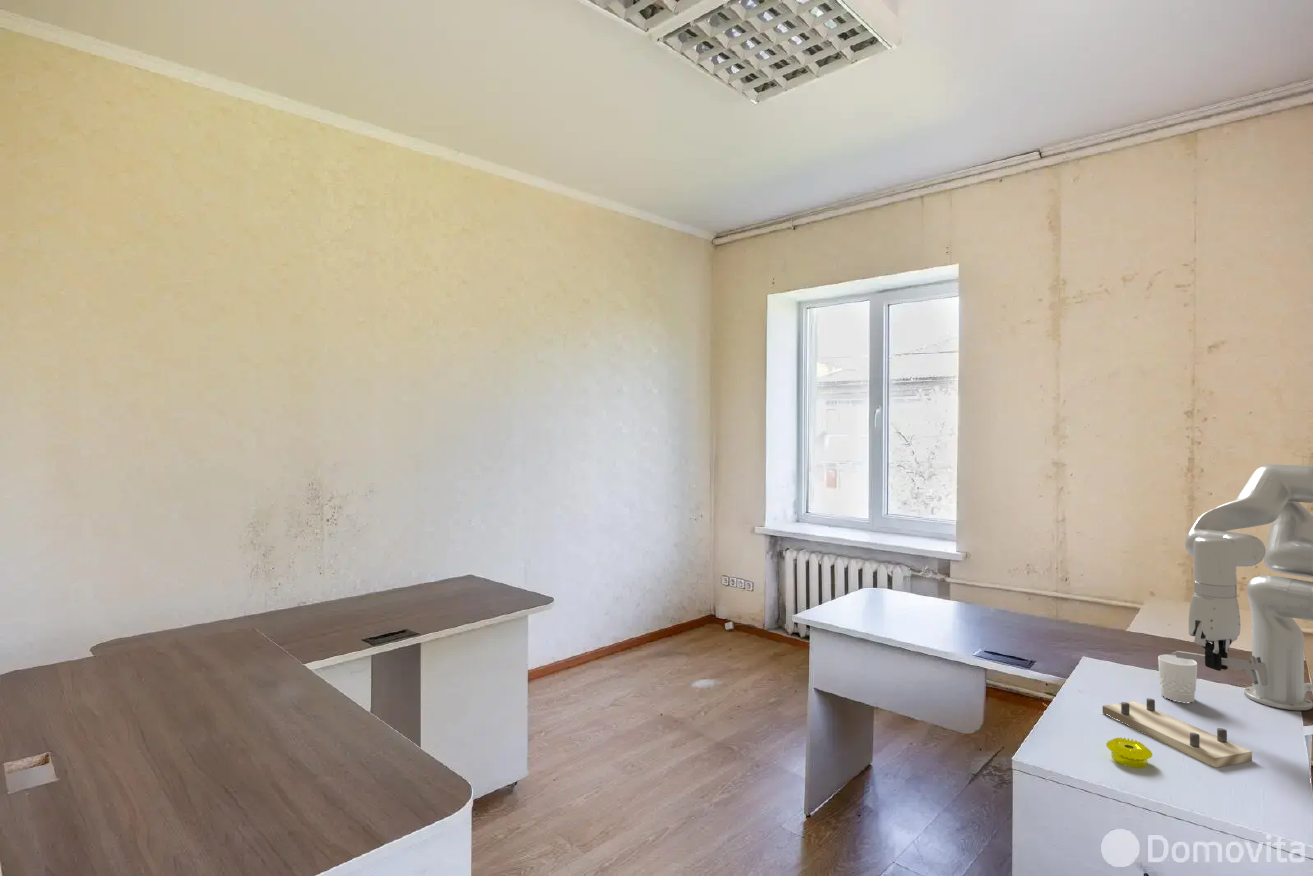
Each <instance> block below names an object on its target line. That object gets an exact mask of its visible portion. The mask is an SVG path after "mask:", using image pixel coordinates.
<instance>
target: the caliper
mask: <svg viewBox="0 0 1313 876" xmlns="http://www.w3.org/2000/svg"><path fill="white" fill-rule="evenodd" d="M1170 655H1176V657H1178V658H1184V659H1190V660H1194V661H1196V662H1198V661H1199V662H1202V663H1205V654H1201V653H1195V652H1187V651H1183V650H1182V651H1181V650H1176V651H1174V652H1173V651H1172V652H1171V653H1170ZM1221 665H1226V666H1228V667H1229V669H1230V670H1231V671H1237V672H1241V671H1245V672H1246V674H1247V676H1248V678H1249V680H1250V682H1251V683H1253V684H1254V685H1256V684H1258V679H1257V675H1256V672H1255V670H1257V672H1258V675H1259V678H1260V682H1261V685H1262V686H1265V685H1267V670H1266V666H1265V663H1263V662H1261V659H1260V657H1256V658H1255V657H1254V656H1252V655H1250V658H1249V659H1247V658H1246V659H1245V658H1244V659H1243V658H1239V657H1232V656H1231V657H1227V658H1221Z"/></svg>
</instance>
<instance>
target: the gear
mask: <svg viewBox="0 0 1313 876" xmlns="http://www.w3.org/2000/svg"><path fill="white" fill-rule="evenodd" d="M1105 744H1106V747H1107V749H1109V750H1110V751H1111V759H1112V760H1113V761H1114V760H1115V761H1114V762H1116V763H1118V764H1119V765H1122V766H1125V765H1126V766H1125V767H1128V766H1129V767H1128V768H1133V767H1134V769H1143V768H1146V767H1147V766H1148V759H1151V758H1152V757H1153V752H1152V751H1151V750H1150V749H1149V748H1148V747H1147V746H1146V745H1144V744H1143V743H1141V742H1140V741H1137V740H1134V739H1133V738H1131V739H1130V738H1129V737H1128V738H1127V739H1126V737H1124V738H1123V737H1115V738H1112V739H1110V740H1108V741H1107V742H1106V743H1105Z"/></svg>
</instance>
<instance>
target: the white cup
mask: <svg viewBox="0 0 1313 876" xmlns="http://www.w3.org/2000/svg"><path fill="white" fill-rule="evenodd" d="M1157 659H1158V660H1157V661H1158V662H1157V663H1158V675H1159V678H1158V679H1159V685H1160V693H1161V697H1163V696H1164V697H1166V698H1168V699H1170V700H1169V701H1171V700H1176V701H1181V702H1185V703H1184V704H1188V703H1187V702H1193V701H1194V702H1195V697H1196V696H1195V695H1196V694H1195V693H1196V690H1197V689H1196V687H1197V677H1198V676H1197V675H1198V661H1196V660H1190V659H1184V658H1178V657H1176V655H1172V654H1160V655H1158V657H1157ZM1164 697H1163V698H1164ZM1166 698H1165V699H1166ZM1168 699H1167V700H1168ZM1194 702H1193V703H1194Z"/></svg>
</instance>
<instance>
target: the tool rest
mask: <svg viewBox="0 0 1313 876" xmlns="http://www.w3.org/2000/svg"><path fill="white" fill-rule="evenodd" d="M1155 701H1156V700H1155V699H1154V698H1149V697H1148V698H1146V704H1144V703H1141V702H1139V701H1136V700H1132V701H1126V702H1125V701H1121V702H1119V703H1118V702H1117V703H1113V704H1111V703H1110V704H1105V705H1102V714H1103V713H1104V714H1108V715H1110V716H1111V717H1113V718H1115V719H1118V720H1120V721H1121V722H1123V723H1126V724H1128V725H1129V726H1131V727H1133V728H1135V729H1137V730H1136V731H1138V730H1139V731H1138V732H1140V733H1142V732H1143V733H1142V734H1144V733H1145V734H1144V735H1146V734H1147V735H1146V736H1148V735H1149V736H1148V737H1150V738H1152V737H1154V738H1155V740H1156V739H1157V740H1156V741H1158V742H1161V743H1162V744H1165V745H1167V746H1169V747H1171V748H1174V749H1175V750H1178V751H1180V752H1182V753H1184V754H1186V755H1188V756H1190V757H1192V758H1194V759H1197V760H1198V761H1200V762H1203V763H1205V764H1207V765H1209V766H1211V767H1214V768H1220V767H1227V766H1231V765H1236V764H1237V765H1238V764H1243V763H1247V762H1248V763H1249V762H1252V761H1253V751H1251V750H1250V749H1248V748H1246V747H1243V746H1241V745H1238V744H1236V743H1233V742H1231V741H1229V740H1228V731H1227V729H1225V728H1221V727H1217V728H1216V735H1215V734H1214V733H1213V734H1212V733H1211V732H1208V731H1206V730H1203V729H1202V728H1199V727H1196V726H1194V725H1193V724H1192V725H1191V724H1190V723H1187V722H1185V721H1182V720H1180V719H1178V718H1175V717H1173V716H1170V715H1169V714H1166V713H1164V712H1162V711H1160V710H1157V709H1156V702H1155ZM1104 714H1103V715H1104ZM1115 719H1114V720H1115ZM1121 722H1120V723H1121ZM1123 723H1122V724H1123ZM1129 726H1128V727H1129ZM1131 727H1130V728H1131ZM1133 728H1132V729H1133ZM1135 729H1134V730H1135ZM1154 738H1153V739H1154Z"/></svg>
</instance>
